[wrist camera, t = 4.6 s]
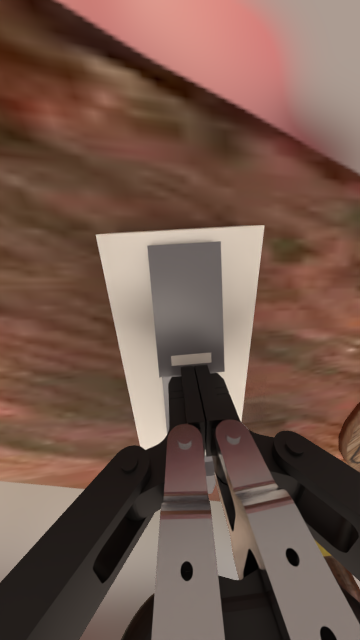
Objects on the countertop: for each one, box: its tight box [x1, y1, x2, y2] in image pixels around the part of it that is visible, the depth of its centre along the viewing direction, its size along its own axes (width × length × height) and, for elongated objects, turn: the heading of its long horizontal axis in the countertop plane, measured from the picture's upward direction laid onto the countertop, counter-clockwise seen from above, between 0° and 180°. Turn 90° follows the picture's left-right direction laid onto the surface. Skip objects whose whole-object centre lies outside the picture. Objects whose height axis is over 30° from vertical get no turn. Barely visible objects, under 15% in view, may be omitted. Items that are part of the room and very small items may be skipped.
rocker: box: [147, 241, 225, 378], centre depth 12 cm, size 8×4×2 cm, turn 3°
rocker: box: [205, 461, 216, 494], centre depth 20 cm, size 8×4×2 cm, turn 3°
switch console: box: [96, 225, 264, 450], centre depth 20 cm, size 27×10×5 cm, turn 3°
